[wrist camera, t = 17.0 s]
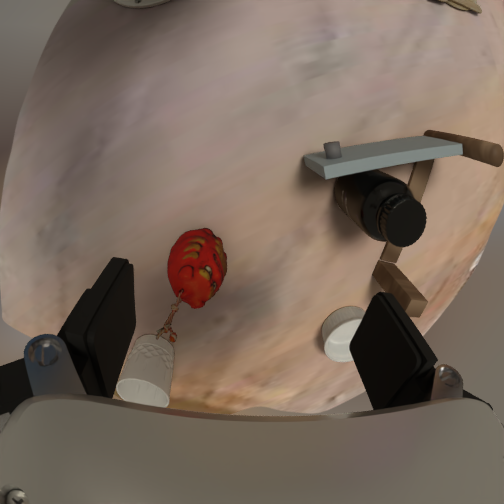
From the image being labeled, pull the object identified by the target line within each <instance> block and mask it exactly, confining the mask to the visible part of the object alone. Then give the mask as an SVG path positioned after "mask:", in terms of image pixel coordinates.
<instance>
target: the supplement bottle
mask: <svg viewBox="0 0 504 504" xmlns="http://www.w3.org/2000/svg"><path fill="white" fill-rule="evenodd" d="M335 199H336V202H337V204H338V206H339V207H340V209H341V210H342V211H343V212H344V213H345V214H346V215H347V216H348V217H349V218H350V219H351V220H352V221H353V222H354V223H356V224H357V225H358V226H359V227H360V228H361V229H362V230H363V231H364V232H365V233H366V234H367V235H368V236H369V237H371V238H372V239H374V240H377V241H383V242H386V241H388V242H390V243H391V244H392V245H395V246H396V247H406V246H409V245H412V244H413V243H415V242H416V241H417V240H418V239H419V238H420V236H421V235H422V233H423V232H424V229H425V225H426V219H427V217H426V212H425V209H424V208H423V205H422V204H421V203H420V202H419V201H417V200H416V199H415V198H414V195H413V192H412V191H411V189H410V188H409V186H408V185H407V184H405V183H404V182H403V181H401V180H399V179H397V178H395V177H393V176H391V175H389V174H386V173H384V172H382V171H380V170H377V169H373V170H368V171H363V172H358V173H353V174H348V175H344V176H339V177H338V179H337V181H336V185H335Z"/></svg>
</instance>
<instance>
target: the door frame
mask: <svg viewBox="0 0 504 504" xmlns="http://www.w3.org/2000/svg"><path fill="white" fill-rule="evenodd" d="M424 136H428V137H433V138H438V139H443V140H447V141H452V142H456V143H461V144H462V149H463V154H462V155H461V156H465V157H468V158H471V159H474V160H478V161H481V162H484V163H487V164H490V165H492V166H495V167H499V166H501V164H502V162H503V159H504V153H503V149H502V147H501V146H500V145H499V144H495V143H491V142H487V141H483V140H479V139H475V138H470V137H465V136H461V135H456V134H450V133H445V132H439V131H433V130H427V131H426V132H425V133H424ZM433 162H434V159H429V160H423V161H417V162H415V164H414V167H413V170H412V173H411V176H410V180H409V183H408V186H409V188H410V189H411V191H412V192H413V195H414V198H415V199H416V200H417V201H419V202H421V199H422V196H423V194H424V191H425V188H426V185H427V182H428V178H429V175H430V172H431V169H432V165H433ZM402 248H403V247H396V246H395V245H392V244H391V243H390V242H388V241H387V242H386V245H385V247H384V250H383V252H382V255H381V257H380V259H381V260H385V261H390V262H394V263H396V262H397V260H398V258H399V255H400V253H401V251H402ZM372 275H373V276H374V278H375V279H376V280H377V282H378V283H379V284H380V286H381V287H382V288H383V290H384V291H385V292H386V293H392V294H393V295H394V297H395V298H396V299H397V301H398V302H399V303H400V305H401V306H402V308H403V309H404V310H405V312H406V313H407V315H408V316H409V317H420V316H421V314H422V312H423V310H424V309H425V307H426V305H427V303H428V301H427V300H426V299H425V298H424V296H423V295H422V294H421V293H420V292H419V291H418V290H417V288H416V287H415V286H414V285H413V284H412V283H411V282H410V281H409V279H408V278H407V277H406V276H405V275H404V274H403V273H402V272H401V271H400V270H399V269H398V268H397V266H396V265H395V264H392V263H388V262H384V261H379V260H378V262H377V265H376V267H375V269H374V272H373V274H372Z"/></svg>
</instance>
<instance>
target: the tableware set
mask: <svg viewBox="0 0 504 504" xmlns="http://www.w3.org/2000/svg"><path fill="white" fill-rule="evenodd" d="M438 1H441V2H446V3H448V4H449V5H451V6H453V7H455V8H457V9H460V10H472V11H475V12H477V13H482V10H481V8H480V6H479V5H477V4H476V1H477V0H438Z"/></svg>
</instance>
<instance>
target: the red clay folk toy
mask: <svg viewBox="0 0 504 504" xmlns="http://www.w3.org/2000/svg"><path fill="white" fill-rule="evenodd" d="M222 245H223V243H222V240H221V239H220V238H219V237H216V236H215V235H214V234H213V232H212V231H211V230H210V229H208V228H203V229H198V230H190V231H187V232H185V233H184V234H182V235H181V236H180V237H179V239H178V240H177V241H176V243H175V245H174V246H173V247H172V249H171V252H170V256H169V259H168V278H169V281H170V284H171V286H172V289H173V291H174V293H175V295H176V297H178V299H177V302H176V303H175V304H172V305H171V309H172V312H171V314H170V315H169V317H168V319H167V321H166V322H165V324H164V326H163V328H161V329H160V330H158V331H157V332H158V334H157V336H156V340H158V339H159V337H160V335H162V333H167V332H168V331H169V330H170V333H171V334H170V337H169V340H170V342H175V341H176V338H177V335H176V333H175V332H173V331H172V328H171V327H170V325H171V322H172V319H173V316H174V313H175V312H177V311H178V305H179V303H181V302H182V301H183V302H186V303H188V304H189V305H190V306H191V307H192V308H194V309H197V308H201V307H203V306H204V305H205V302H206V301H208V300H209V299H211V297H213V296H214V295H215V293H216V292H217V291H218V290H219V288H220V286H221V284H222V282H223V280H224V277H225V275H226V272H227V261H226V260H227V256H226V253H225V252H224V250H223V246H222Z"/></svg>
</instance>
